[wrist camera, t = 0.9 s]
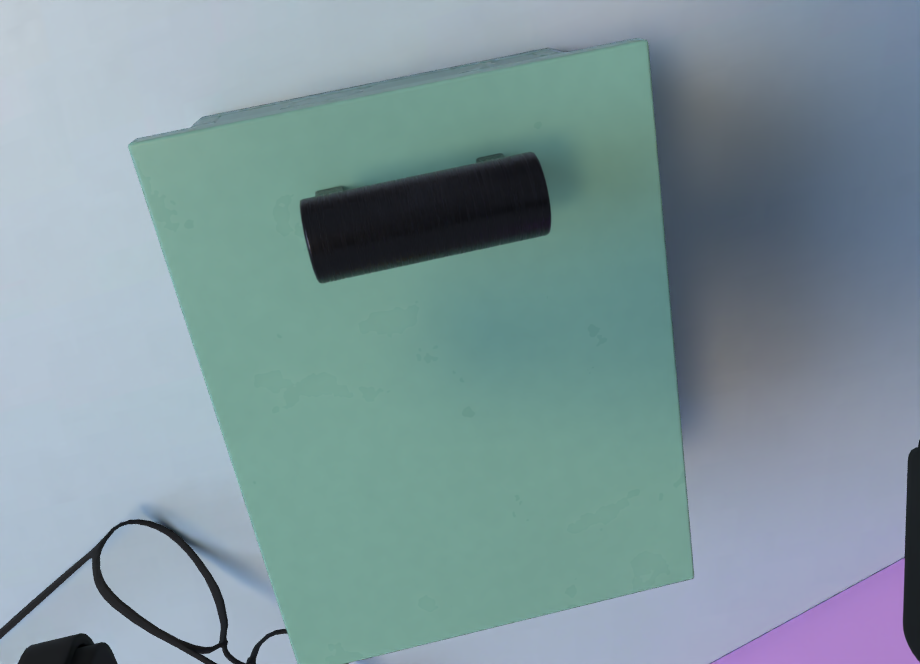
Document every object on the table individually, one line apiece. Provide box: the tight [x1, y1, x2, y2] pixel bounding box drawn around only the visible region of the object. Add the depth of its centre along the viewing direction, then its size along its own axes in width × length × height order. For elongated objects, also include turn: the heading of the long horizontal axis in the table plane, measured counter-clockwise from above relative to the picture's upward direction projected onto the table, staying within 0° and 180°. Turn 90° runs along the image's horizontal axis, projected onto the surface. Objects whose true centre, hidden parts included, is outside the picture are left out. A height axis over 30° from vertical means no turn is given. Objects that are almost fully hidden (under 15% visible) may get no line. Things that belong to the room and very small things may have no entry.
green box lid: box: [128, 38, 694, 664], centre depth 22 cm, size 16×13×5 cm
